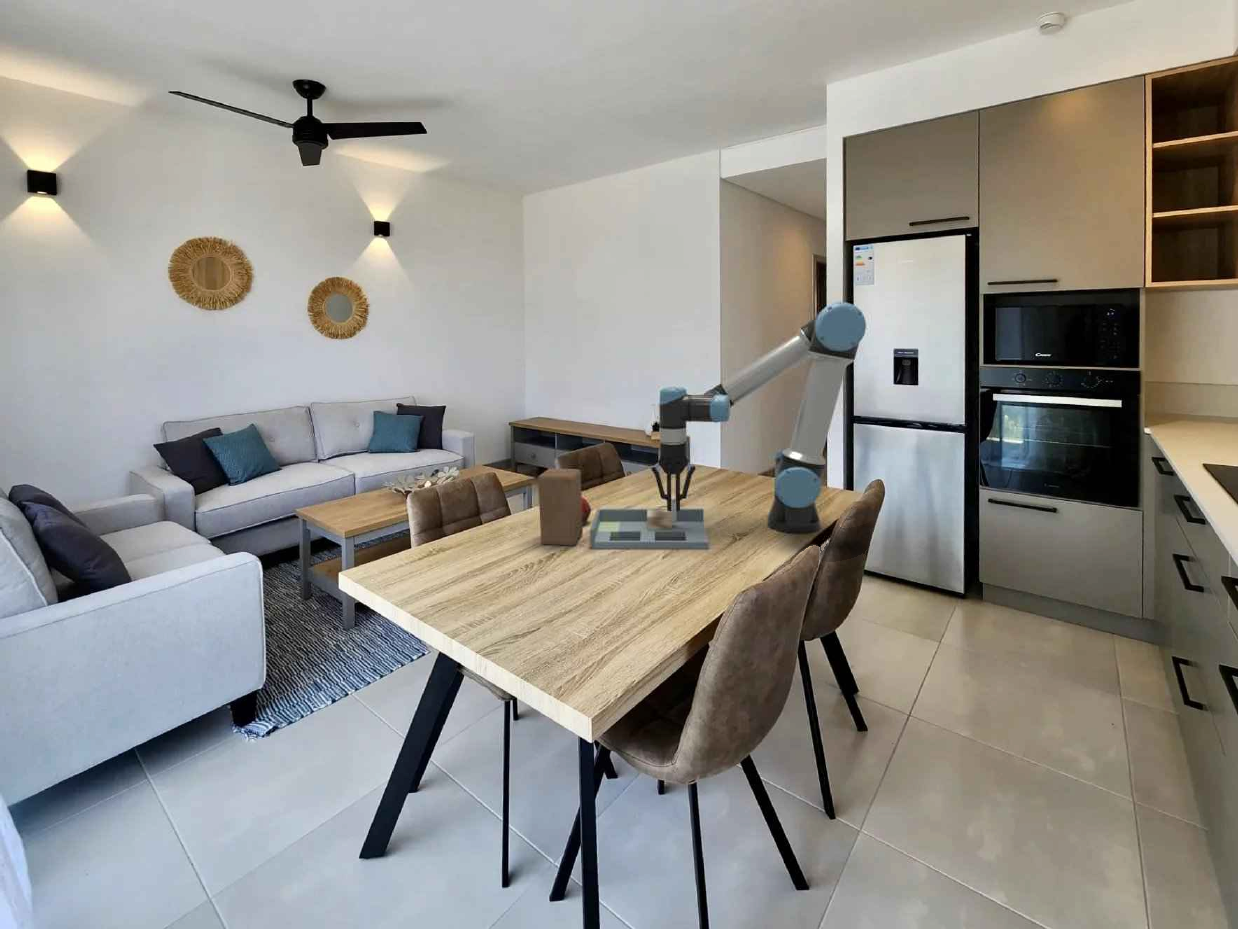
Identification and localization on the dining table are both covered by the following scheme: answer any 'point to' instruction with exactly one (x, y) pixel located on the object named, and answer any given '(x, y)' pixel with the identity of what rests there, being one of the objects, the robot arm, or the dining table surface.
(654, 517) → the beech block
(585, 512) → the fruit
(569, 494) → the wooden block
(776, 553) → the dining table surface
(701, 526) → the board
